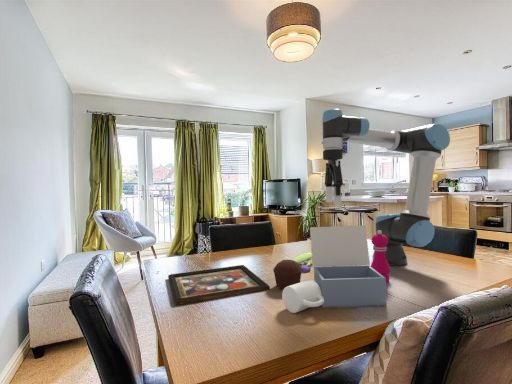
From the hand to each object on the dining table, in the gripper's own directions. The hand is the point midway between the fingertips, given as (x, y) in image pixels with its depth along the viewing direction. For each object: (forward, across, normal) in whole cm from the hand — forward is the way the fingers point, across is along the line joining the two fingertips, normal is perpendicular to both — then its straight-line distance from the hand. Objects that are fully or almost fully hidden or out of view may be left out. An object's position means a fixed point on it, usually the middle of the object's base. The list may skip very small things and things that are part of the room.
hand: (333, 203), depth 115 cm
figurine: (+32, -24, -6) cm, 40 cm away
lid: (+15, +9, 0) cm, 17 cm away
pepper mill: (+31, 0, +18) cm, 36 cm away
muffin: (+32, +5, -19) cm, 37 cm away
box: (+31, +17, 0) cm, 36 cm away
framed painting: (+33, 0, -48) cm, 58 cm away
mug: (+32, +26, -15) cm, 43 cm away
